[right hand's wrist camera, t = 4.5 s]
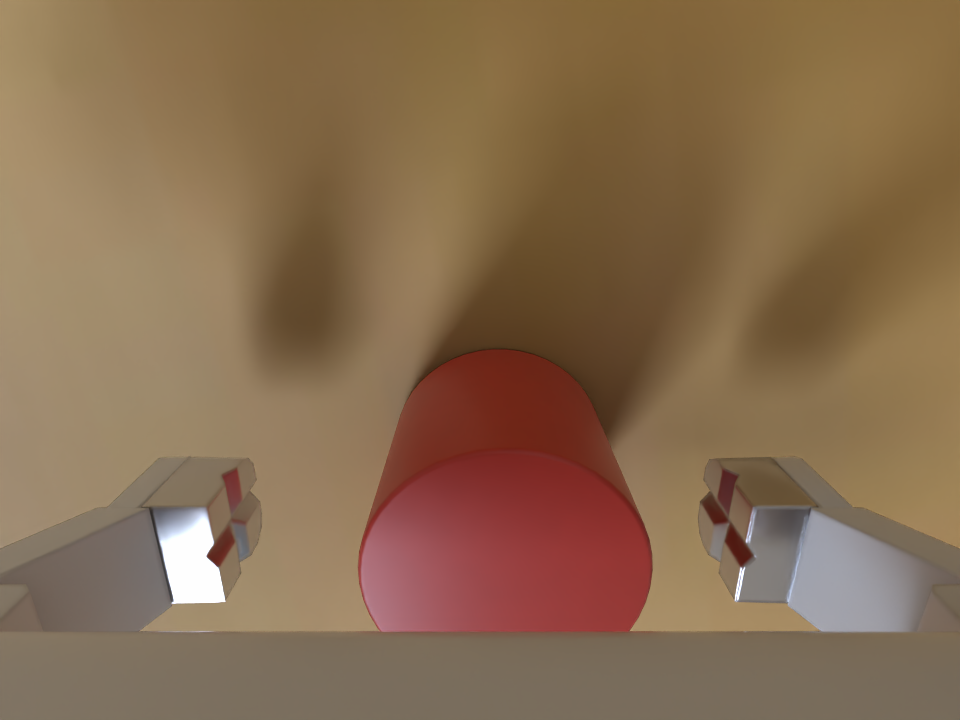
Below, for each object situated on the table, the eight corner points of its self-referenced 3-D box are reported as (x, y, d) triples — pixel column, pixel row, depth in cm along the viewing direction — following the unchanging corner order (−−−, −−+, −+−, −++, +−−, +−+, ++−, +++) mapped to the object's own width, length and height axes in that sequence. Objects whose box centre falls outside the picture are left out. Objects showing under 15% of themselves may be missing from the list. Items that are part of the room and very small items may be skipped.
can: (550, 313, 11) (586, 399, 7) (628, 483, 12) (694, 633, 9) (359, 400, 12) (299, 522, 8) (453, 553, 13) (441, 721, 9)
